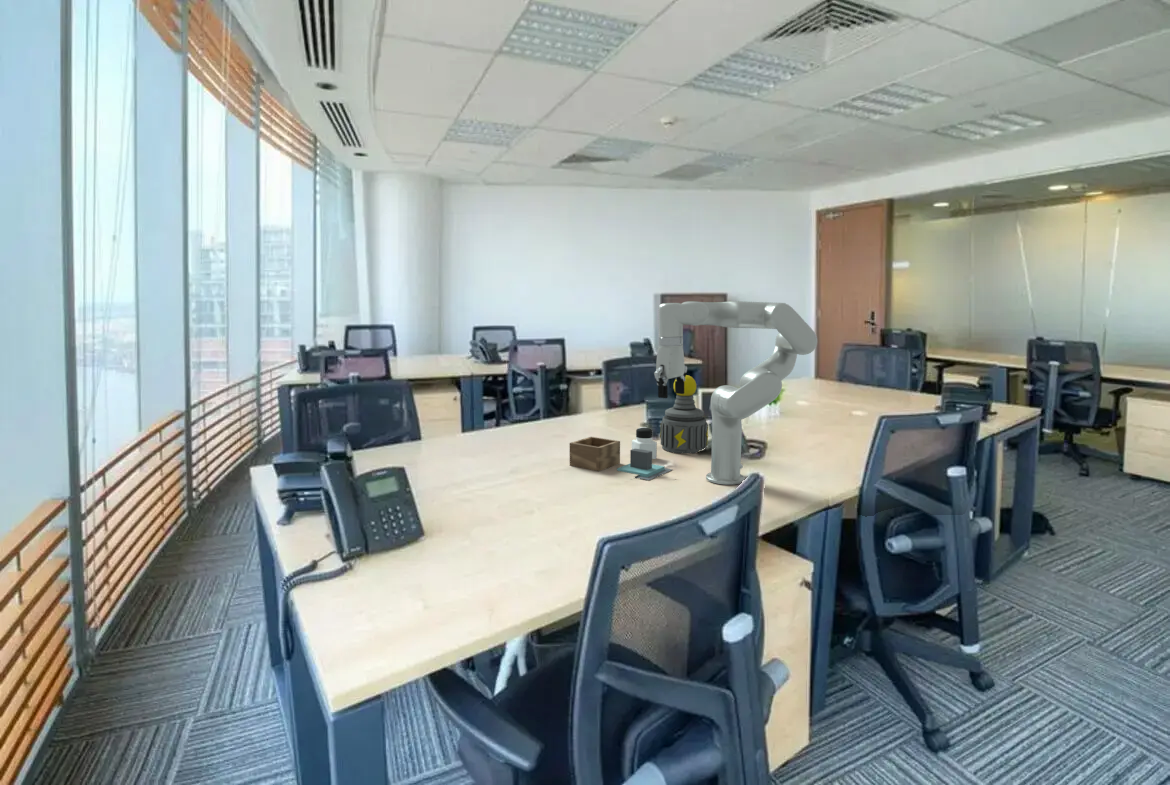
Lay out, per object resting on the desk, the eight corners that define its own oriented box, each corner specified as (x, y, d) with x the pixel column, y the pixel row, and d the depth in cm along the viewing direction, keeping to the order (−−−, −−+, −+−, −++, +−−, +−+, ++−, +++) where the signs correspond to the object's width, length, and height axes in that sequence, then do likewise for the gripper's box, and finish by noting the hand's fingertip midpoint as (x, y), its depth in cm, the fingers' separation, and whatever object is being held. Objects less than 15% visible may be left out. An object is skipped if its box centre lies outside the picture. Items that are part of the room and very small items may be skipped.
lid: (635, 464, 226) (635, 445, 224) (664, 469, 218) (664, 449, 217) (617, 471, 216) (617, 451, 215) (646, 477, 209) (647, 456, 208)
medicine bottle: (656, 460, 232) (657, 429, 230) (639, 462, 229) (639, 430, 228) (648, 456, 238) (648, 425, 237) (631, 458, 236) (631, 427, 234)
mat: (633, 463, 228) (633, 462, 228) (672, 470, 219) (672, 469, 219) (609, 472, 216) (609, 472, 216) (648, 480, 206) (648, 479, 206)
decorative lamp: (656, 452, 244) (657, 376, 240) (664, 442, 262) (665, 371, 258) (704, 455, 239) (706, 378, 234) (709, 444, 257) (711, 372, 252)
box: (591, 459, 233) (591, 436, 232) (619, 465, 225) (620, 441, 224) (569, 467, 223) (569, 443, 222) (599, 473, 215) (599, 448, 214)
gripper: (675, 340, 205) (676, 391, 208) (645, 344, 193) (646, 398, 195) (695, 340, 201) (695, 392, 203) (665, 344, 188) (666, 400, 190)
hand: (671, 395), depth 199 cm, fingers open, 9 cm apart
